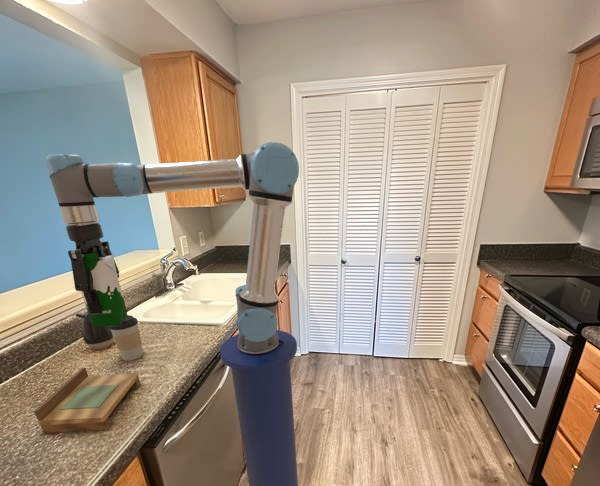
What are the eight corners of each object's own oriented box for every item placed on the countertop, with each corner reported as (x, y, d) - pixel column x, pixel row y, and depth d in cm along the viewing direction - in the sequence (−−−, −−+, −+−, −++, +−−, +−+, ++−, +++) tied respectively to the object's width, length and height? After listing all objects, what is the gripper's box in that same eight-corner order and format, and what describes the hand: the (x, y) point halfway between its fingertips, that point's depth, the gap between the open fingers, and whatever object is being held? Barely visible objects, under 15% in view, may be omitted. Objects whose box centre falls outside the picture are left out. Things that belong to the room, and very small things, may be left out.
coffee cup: (121, 352, 120) (110, 315, 114) (147, 347, 123) (137, 311, 117) (116, 364, 112) (104, 324, 107) (144, 359, 115) (134, 320, 109)
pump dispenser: (92, 342, 129) (80, 307, 123) (120, 338, 131) (109, 303, 125) (82, 354, 120) (69, 317, 114) (112, 350, 122) (101, 313, 116)
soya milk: (88, 329, 87) (64, 256, 79) (100, 317, 95) (79, 249, 88) (122, 325, 89) (102, 253, 81) (132, 313, 97) (114, 246, 89)
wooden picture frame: (140, 384, 100) (135, 364, 98) (106, 429, 82) (98, 407, 79) (89, 386, 100) (82, 367, 97) (43, 433, 82) (33, 411, 79)
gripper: (93, 219, 92) (114, 294, 100) (35, 230, 71) (67, 322, 80) (119, 218, 91) (138, 293, 100) (69, 228, 71) (97, 321, 80)
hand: (106, 306), depth 90 cm, fingers closed on soya milk, 9 cm apart
